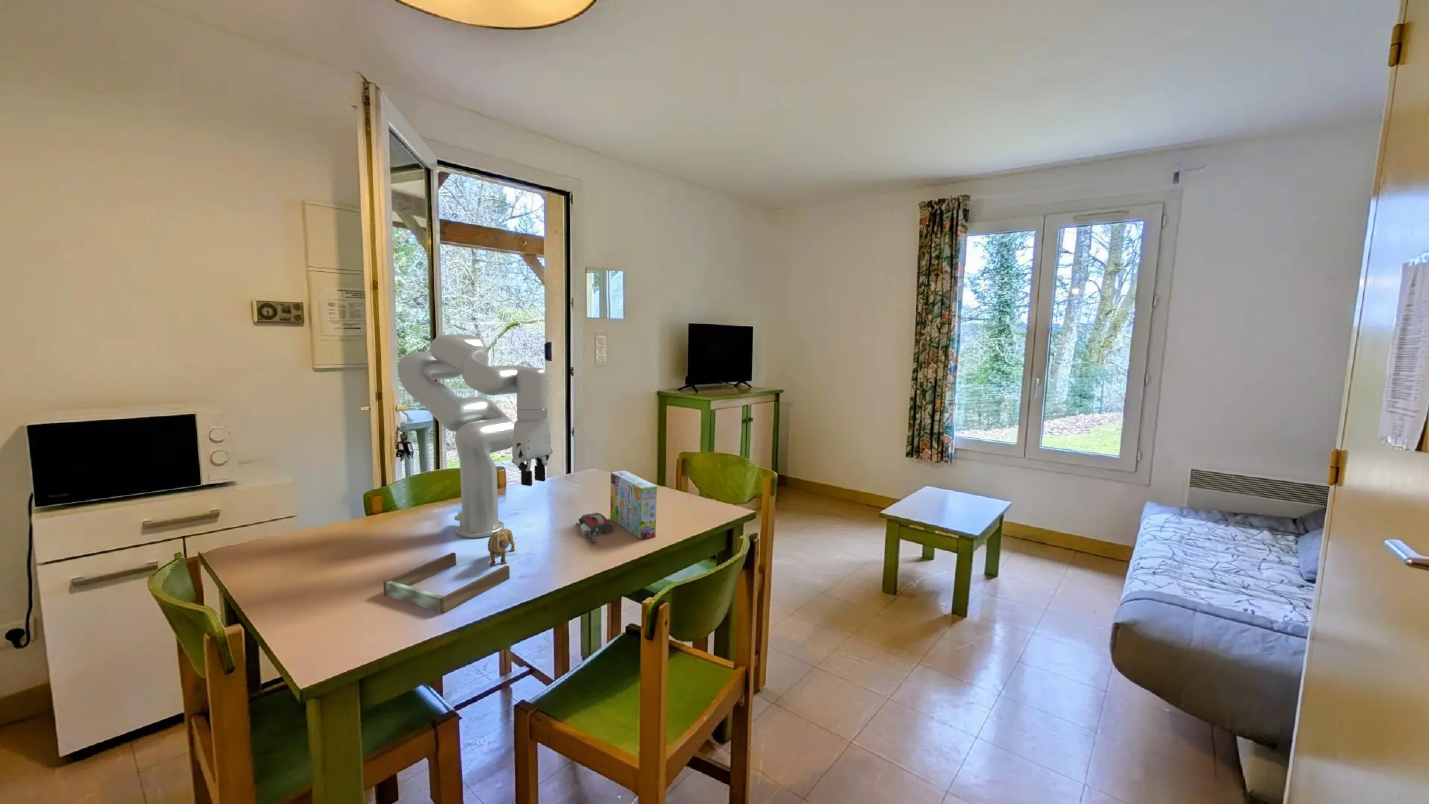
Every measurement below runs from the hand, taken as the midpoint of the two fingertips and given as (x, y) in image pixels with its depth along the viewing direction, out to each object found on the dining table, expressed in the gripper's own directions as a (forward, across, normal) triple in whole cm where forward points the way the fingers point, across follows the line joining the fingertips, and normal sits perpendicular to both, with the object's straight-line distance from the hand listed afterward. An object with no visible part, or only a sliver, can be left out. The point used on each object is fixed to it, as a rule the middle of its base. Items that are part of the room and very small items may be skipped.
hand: (533, 482), depth 147 cm
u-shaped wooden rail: (+17, +28, 0) cm, 33 cm away
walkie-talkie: (+18, -16, +9) cm, 25 cm away
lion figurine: (+18, +11, 0) cm, 21 cm away
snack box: (+18, -24, +16) cm, 33 cm away
